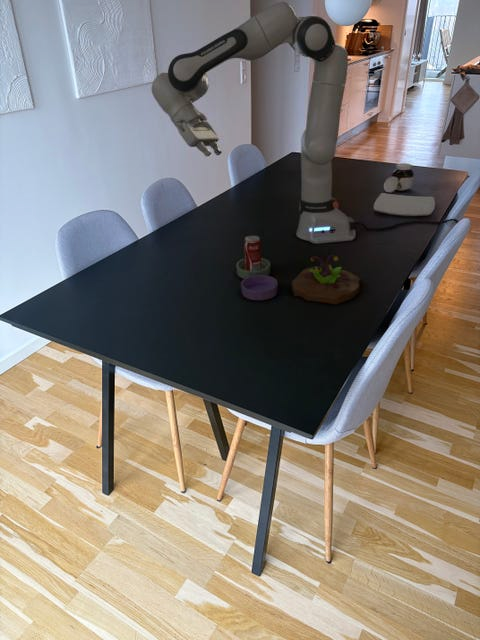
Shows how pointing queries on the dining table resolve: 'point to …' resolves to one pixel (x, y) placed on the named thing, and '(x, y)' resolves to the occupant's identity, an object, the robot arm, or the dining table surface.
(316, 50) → the robot arm
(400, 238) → the dining table surface
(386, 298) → the dining table surface
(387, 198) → the plate
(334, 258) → the plant
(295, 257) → the dining table surface
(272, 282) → the lavender bowl
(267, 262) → the green bowl
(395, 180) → the spread jar
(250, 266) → the soda can
